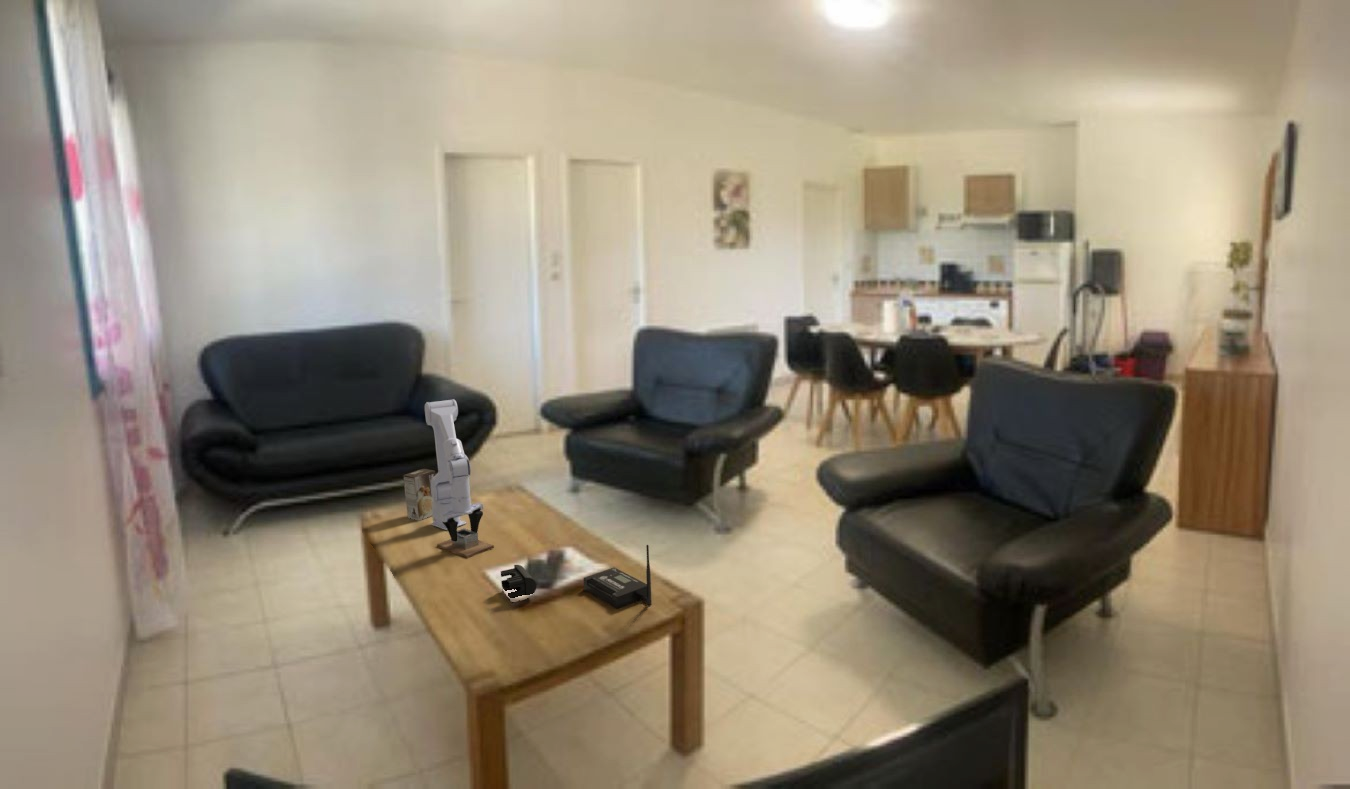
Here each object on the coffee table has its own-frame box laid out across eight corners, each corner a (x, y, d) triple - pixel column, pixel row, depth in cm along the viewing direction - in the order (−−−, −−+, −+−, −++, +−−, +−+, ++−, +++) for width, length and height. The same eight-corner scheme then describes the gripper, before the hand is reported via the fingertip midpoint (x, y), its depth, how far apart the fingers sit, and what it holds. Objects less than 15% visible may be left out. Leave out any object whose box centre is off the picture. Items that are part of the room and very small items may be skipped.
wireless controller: (578, 592, 219) (575, 534, 216) (619, 578, 228) (617, 521, 225) (621, 618, 204) (618, 555, 201) (663, 601, 213) (661, 541, 210)
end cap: (537, 598, 216) (536, 575, 215) (512, 604, 213) (510, 580, 212) (526, 584, 225) (524, 562, 224) (501, 590, 222) (499, 567, 220)
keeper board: (437, 546, 255) (436, 534, 254) (463, 536, 262) (462, 525, 261) (467, 558, 245) (466, 545, 244) (493, 547, 252) (492, 535, 251)
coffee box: (427, 510, 289) (423, 467, 286) (439, 513, 285) (435, 470, 282) (406, 518, 281) (402, 474, 278) (418, 521, 278) (414, 477, 275)
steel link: (452, 544, 253) (451, 532, 253) (465, 539, 257) (464, 528, 256) (465, 549, 249) (464, 537, 248) (478, 544, 253) (477, 532, 252)
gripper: (448, 504, 242) (452, 546, 245) (487, 492, 253) (490, 532, 256) (435, 500, 246) (439, 541, 249) (474, 488, 257) (477, 528, 260)
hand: (464, 536), depth 253 cm, fingers open, 7 cm apart
